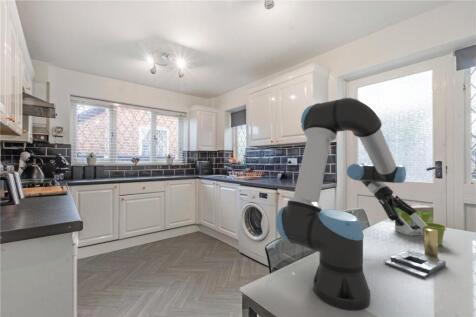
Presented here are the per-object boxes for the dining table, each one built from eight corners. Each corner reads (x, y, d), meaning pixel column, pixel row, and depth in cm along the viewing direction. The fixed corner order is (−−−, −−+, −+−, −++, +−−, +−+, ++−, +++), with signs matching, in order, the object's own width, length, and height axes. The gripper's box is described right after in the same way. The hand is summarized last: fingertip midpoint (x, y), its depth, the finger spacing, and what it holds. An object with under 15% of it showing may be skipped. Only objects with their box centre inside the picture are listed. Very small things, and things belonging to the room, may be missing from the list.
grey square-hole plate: (424, 279, 74) (424, 276, 74) (385, 264, 84) (385, 261, 84) (441, 268, 81) (441, 265, 81) (403, 256, 91) (403, 254, 91)
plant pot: (452, 247, 101) (452, 227, 101) (431, 247, 101) (431, 227, 101) (434, 239, 110) (434, 222, 110) (415, 239, 111) (415, 222, 111)
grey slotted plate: (429, 275, 76) (429, 270, 76) (390, 262, 86) (390, 256, 86) (445, 266, 83) (445, 260, 83) (408, 254, 93) (408, 249, 93)
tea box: (412, 236, 115) (412, 208, 115) (394, 230, 124) (394, 204, 125) (434, 234, 119) (434, 206, 119) (414, 228, 128) (414, 203, 129)
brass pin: (435, 260, 88) (435, 232, 88) (422, 256, 91) (422, 229, 91) (439, 257, 90) (439, 230, 90) (427, 254, 93) (427, 227, 93)
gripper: (387, 192, 117) (422, 229, 104) (360, 197, 104) (396, 239, 91) (399, 183, 112) (437, 220, 99) (371, 186, 100) (411, 229, 87)
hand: (417, 229), depth 95 cm, fingers open, 13 cm apart
